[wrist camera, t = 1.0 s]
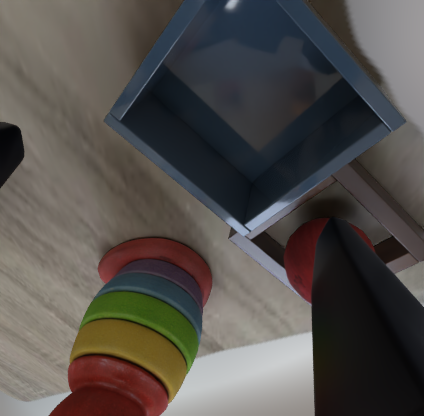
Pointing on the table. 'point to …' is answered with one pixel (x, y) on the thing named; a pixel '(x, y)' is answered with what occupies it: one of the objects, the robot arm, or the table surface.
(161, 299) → the stacking bear
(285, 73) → the blue open box
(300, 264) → the red round fruit
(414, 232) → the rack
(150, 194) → the table surface
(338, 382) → the robot arm
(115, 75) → the table surface
